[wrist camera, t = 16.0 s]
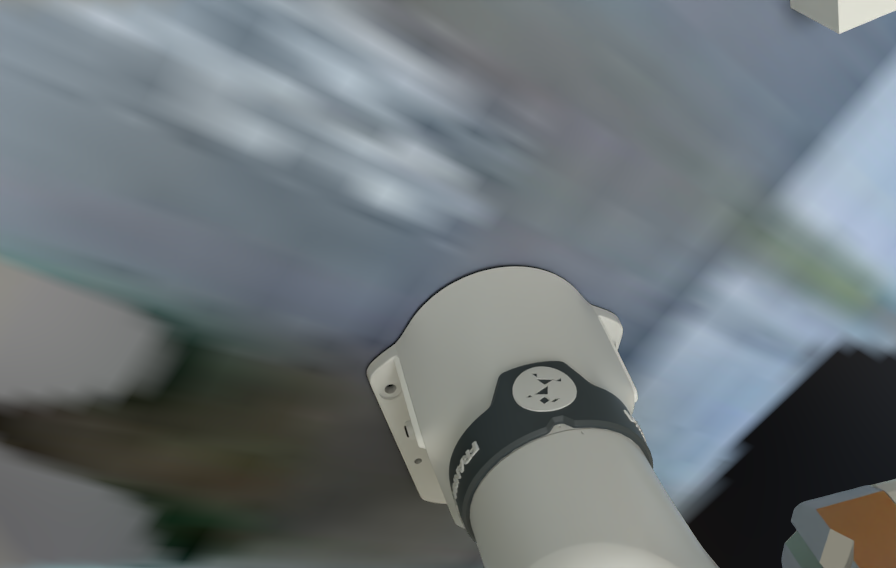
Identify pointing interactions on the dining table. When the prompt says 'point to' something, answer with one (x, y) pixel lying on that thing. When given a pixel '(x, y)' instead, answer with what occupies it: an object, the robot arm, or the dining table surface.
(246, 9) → the dining table surface
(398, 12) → the dining table surface
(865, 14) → the grey cube
